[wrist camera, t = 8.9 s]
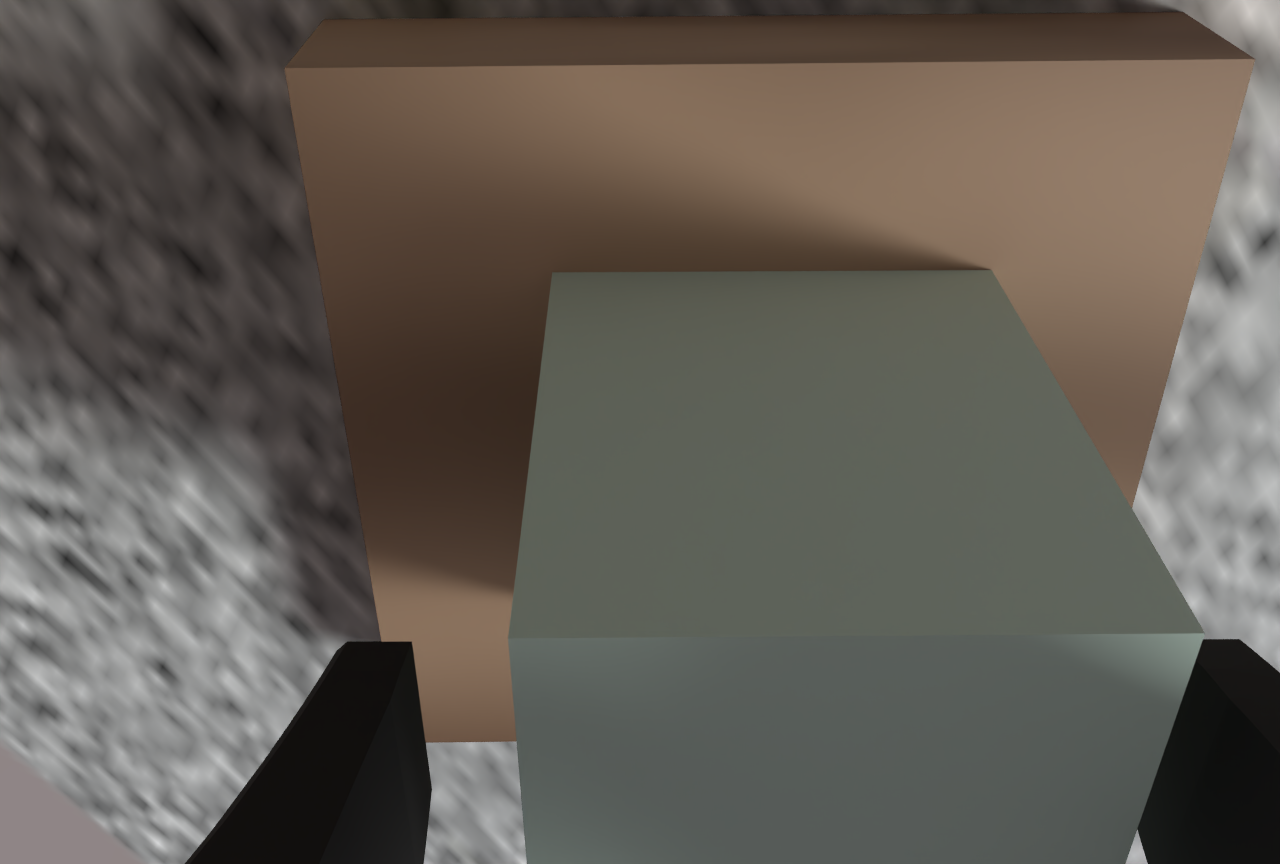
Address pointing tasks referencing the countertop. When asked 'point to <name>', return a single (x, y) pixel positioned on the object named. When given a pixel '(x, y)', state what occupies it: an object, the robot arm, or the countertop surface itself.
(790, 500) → the sage block
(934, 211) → the walnut board
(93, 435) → the countertop surface
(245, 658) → the countertop surface
